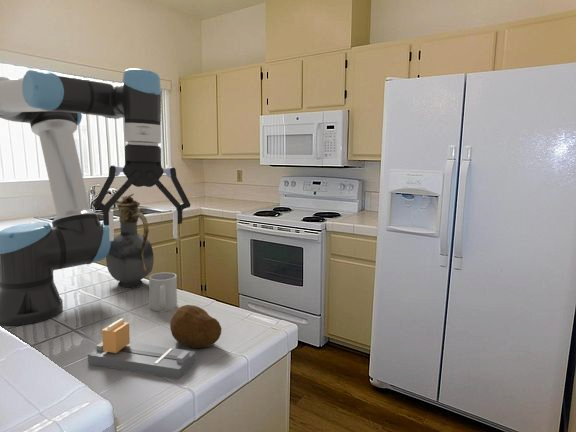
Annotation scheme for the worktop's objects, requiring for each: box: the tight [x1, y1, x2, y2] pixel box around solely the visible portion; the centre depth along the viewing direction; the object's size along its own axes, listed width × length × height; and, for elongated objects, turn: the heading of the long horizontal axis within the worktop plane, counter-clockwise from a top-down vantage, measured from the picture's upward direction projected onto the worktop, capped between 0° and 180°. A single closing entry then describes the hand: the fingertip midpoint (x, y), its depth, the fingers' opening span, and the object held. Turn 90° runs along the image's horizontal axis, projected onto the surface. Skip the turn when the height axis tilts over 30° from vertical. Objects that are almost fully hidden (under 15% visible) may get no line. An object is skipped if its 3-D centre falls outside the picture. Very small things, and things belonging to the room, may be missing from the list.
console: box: [87, 341, 197, 380], centre depth 78 cm, size 20×7×3 cm, turn 77°
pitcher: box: [105, 193, 155, 289], centre depth 122 cm, size 11×19×30 cm, turn 49°
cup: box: [148, 272, 178, 312], centre depth 106 cm, size 7×10×9 cm
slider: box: [101, 318, 131, 353], centre depth 79 cm, size 3×4×5 cm
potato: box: [169, 304, 222, 349], centre depth 86 cm, size 8×12×9 cm
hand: (144, 238), depth 88 cm, fingers open, 13 cm apart
